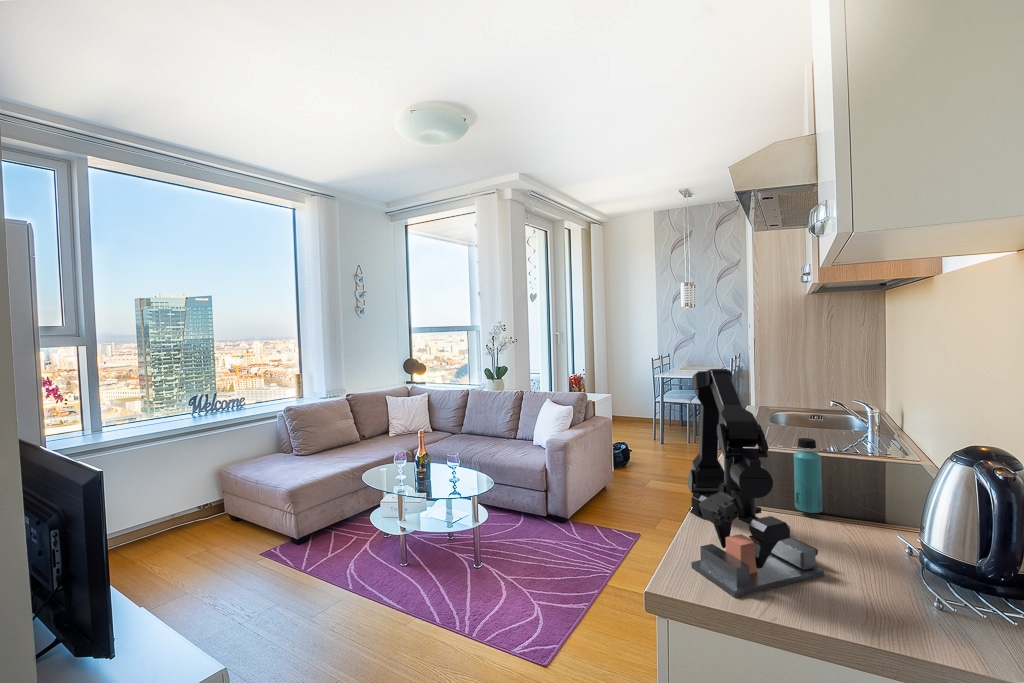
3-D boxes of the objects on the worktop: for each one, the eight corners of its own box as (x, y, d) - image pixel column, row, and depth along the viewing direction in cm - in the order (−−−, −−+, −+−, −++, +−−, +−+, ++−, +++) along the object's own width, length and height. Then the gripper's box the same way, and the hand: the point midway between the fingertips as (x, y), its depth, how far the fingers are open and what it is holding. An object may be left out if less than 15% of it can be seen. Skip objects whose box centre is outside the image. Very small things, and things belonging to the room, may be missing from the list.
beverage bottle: (829, 517, 123) (828, 440, 123) (807, 520, 122) (806, 442, 122) (808, 508, 130) (807, 435, 129) (787, 511, 128) (786, 437, 128)
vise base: (774, 550, 107) (773, 529, 106) (824, 576, 95) (823, 552, 95) (691, 567, 100) (691, 545, 100) (734, 597, 88) (734, 572, 88)
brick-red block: (741, 562, 99) (741, 534, 99) (757, 572, 95) (756, 542, 95) (726, 566, 98) (725, 537, 98) (741, 575, 94) (740, 545, 94)
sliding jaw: (785, 543, 106) (785, 528, 106) (827, 564, 97) (827, 547, 97) (762, 548, 104) (761, 532, 104) (802, 570, 95) (802, 552, 95)
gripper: (676, 472, 102) (677, 544, 103) (743, 501, 85) (744, 588, 85) (719, 466, 106) (720, 536, 106) (791, 493, 88) (793, 576, 88)
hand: (741, 557), depth 96 cm, fingers open, 9 cm apart
